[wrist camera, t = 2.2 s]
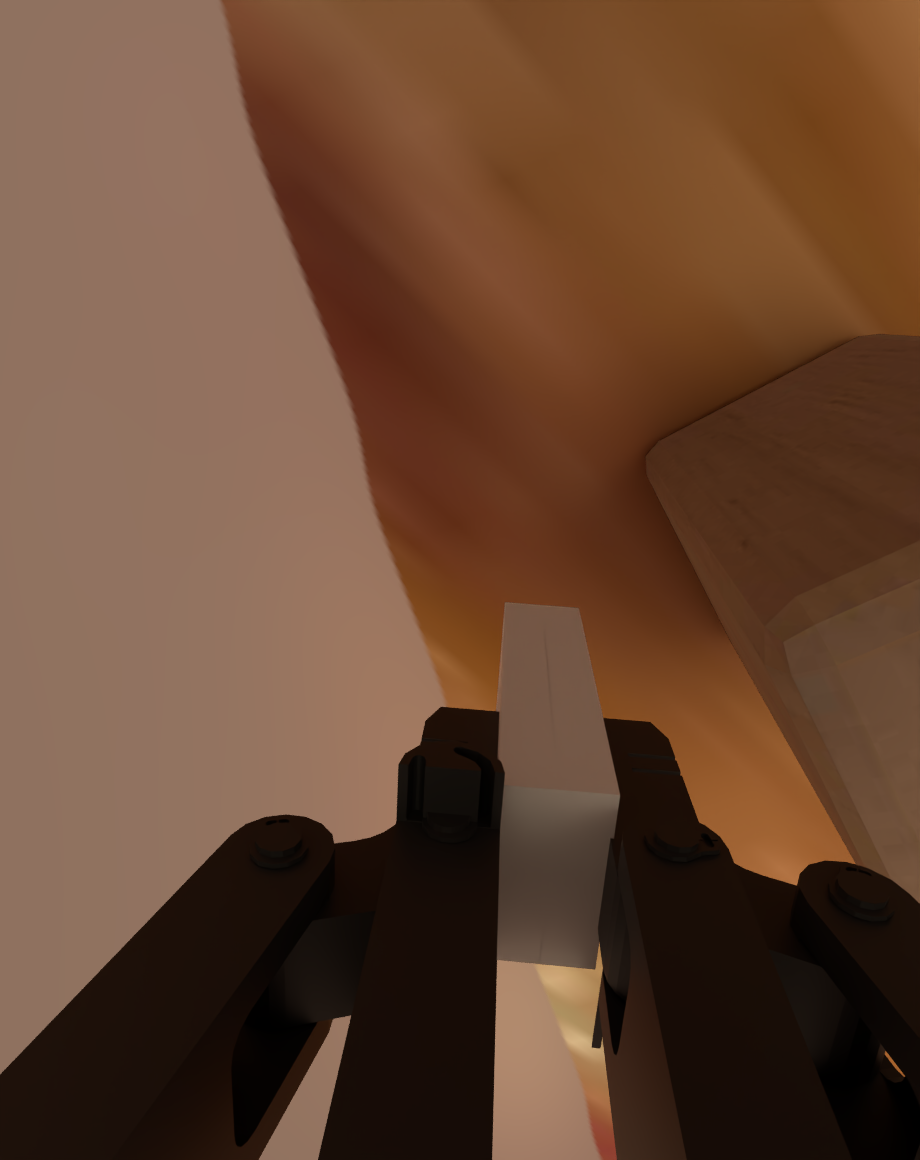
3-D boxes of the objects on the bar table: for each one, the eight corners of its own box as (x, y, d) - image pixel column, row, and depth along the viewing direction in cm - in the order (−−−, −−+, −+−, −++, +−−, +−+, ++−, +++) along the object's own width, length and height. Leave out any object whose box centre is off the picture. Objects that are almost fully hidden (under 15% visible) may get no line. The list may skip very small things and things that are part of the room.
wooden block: (874, 322, 30) (1444, 339, 11) (964, 545, 32) (1562, 877, 13) (632, 449, 32) (756, 642, 13) (733, 647, 34) (959, 1051, 16)
